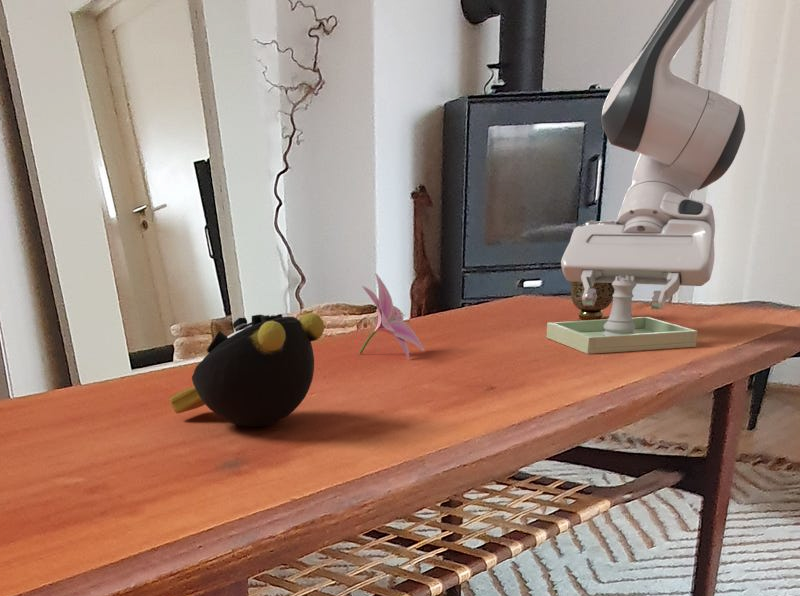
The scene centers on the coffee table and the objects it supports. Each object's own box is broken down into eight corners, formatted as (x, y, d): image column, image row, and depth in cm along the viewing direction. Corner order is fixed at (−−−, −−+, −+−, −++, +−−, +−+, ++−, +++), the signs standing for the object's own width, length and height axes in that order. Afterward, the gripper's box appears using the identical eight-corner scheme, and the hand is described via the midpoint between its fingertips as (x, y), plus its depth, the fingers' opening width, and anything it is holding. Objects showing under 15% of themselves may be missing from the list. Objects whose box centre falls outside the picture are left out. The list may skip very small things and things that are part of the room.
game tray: (646, 331, 142) (647, 316, 141) (695, 347, 130) (698, 330, 129) (546, 337, 139) (547, 322, 138) (587, 354, 127) (588, 337, 126)
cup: (563, 316, 156) (567, 264, 153) (610, 316, 156) (615, 263, 152) (569, 324, 150) (573, 269, 146) (618, 323, 149) (623, 268, 145)
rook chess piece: (595, 338, 134) (601, 277, 131) (611, 333, 137) (617, 274, 134) (625, 341, 132) (632, 279, 128) (640, 336, 134) (648, 275, 131)
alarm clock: (263, 439, 107) (318, 308, 102) (288, 480, 95) (351, 334, 89) (163, 400, 103) (214, 262, 98) (174, 438, 90) (234, 282, 85)
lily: (370, 374, 124) (408, 306, 120) (313, 329, 129) (348, 262, 125) (421, 388, 133) (458, 325, 129) (366, 345, 139) (400, 283, 134)
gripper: (573, 205, 137) (543, 286, 134) (724, 205, 127) (696, 292, 124) (580, 237, 143) (552, 315, 140) (726, 239, 133) (699, 323, 130)
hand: (621, 304), depth 132 cm, fingers open, 8 cm apart
